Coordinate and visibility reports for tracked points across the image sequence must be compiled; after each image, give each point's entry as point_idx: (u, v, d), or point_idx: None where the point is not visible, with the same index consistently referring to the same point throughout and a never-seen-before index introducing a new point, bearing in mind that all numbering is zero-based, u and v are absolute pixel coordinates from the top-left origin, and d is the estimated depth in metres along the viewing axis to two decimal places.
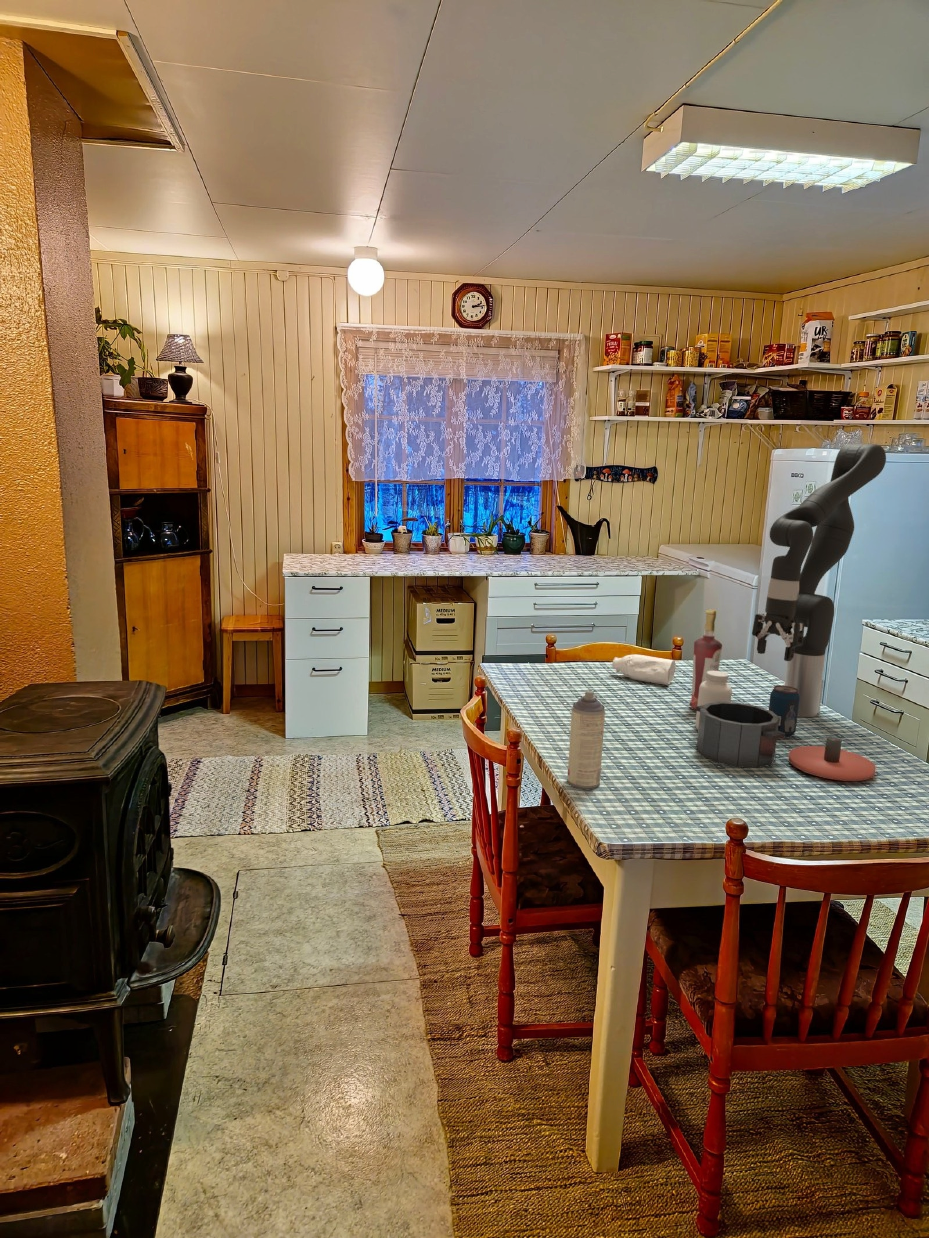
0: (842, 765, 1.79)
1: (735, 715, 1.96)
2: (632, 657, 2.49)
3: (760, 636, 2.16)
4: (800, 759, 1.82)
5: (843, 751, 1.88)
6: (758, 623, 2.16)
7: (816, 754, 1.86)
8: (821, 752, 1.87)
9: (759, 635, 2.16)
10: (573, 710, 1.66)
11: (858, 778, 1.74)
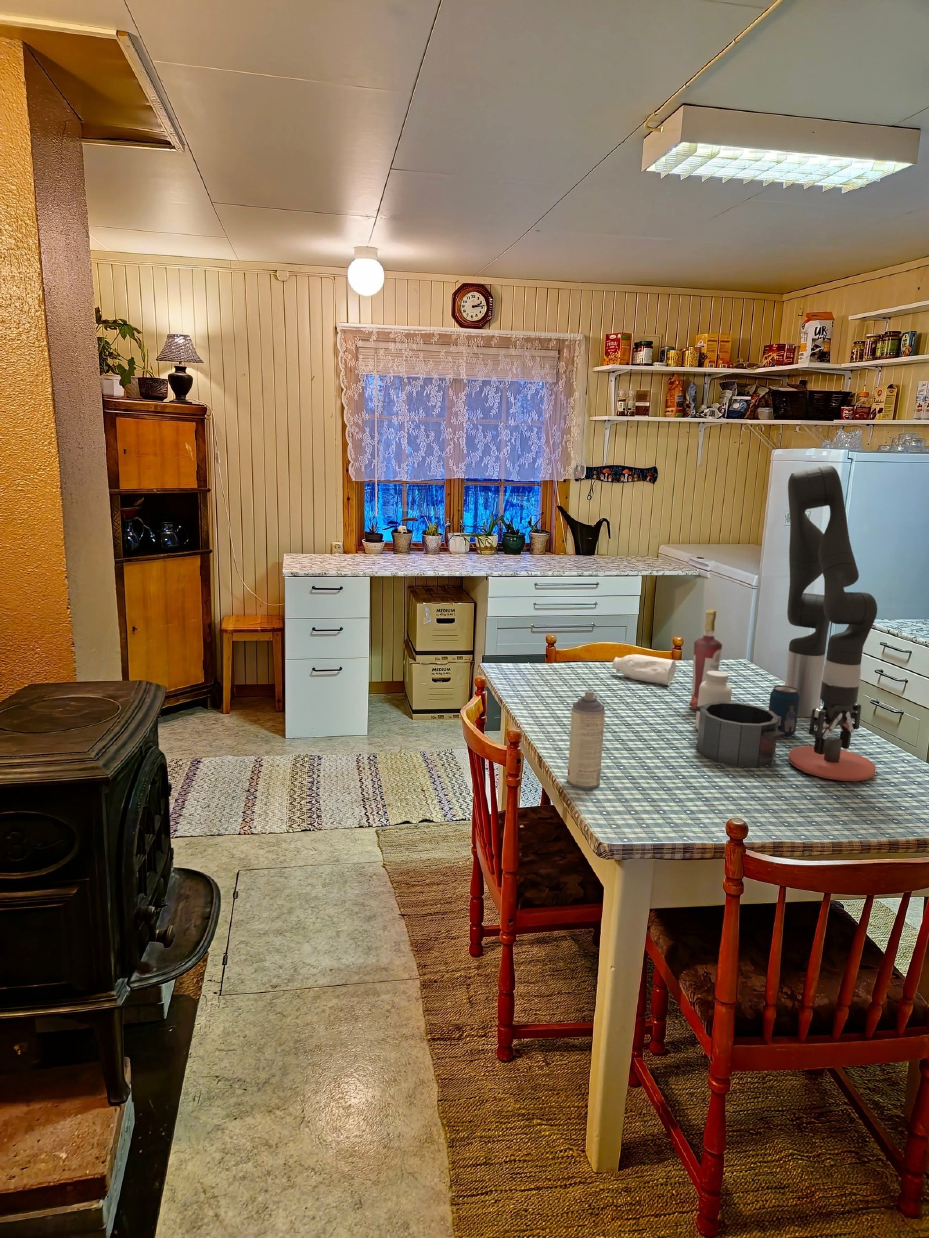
0: (842, 765, 1.79)
1: (735, 715, 1.96)
2: (632, 657, 2.49)
3: (826, 734, 1.78)
4: (800, 759, 1.82)
5: (843, 751, 1.88)
6: None
7: (816, 754, 1.86)
8: None
9: (825, 734, 1.78)
10: (573, 710, 1.66)
11: (858, 778, 1.74)
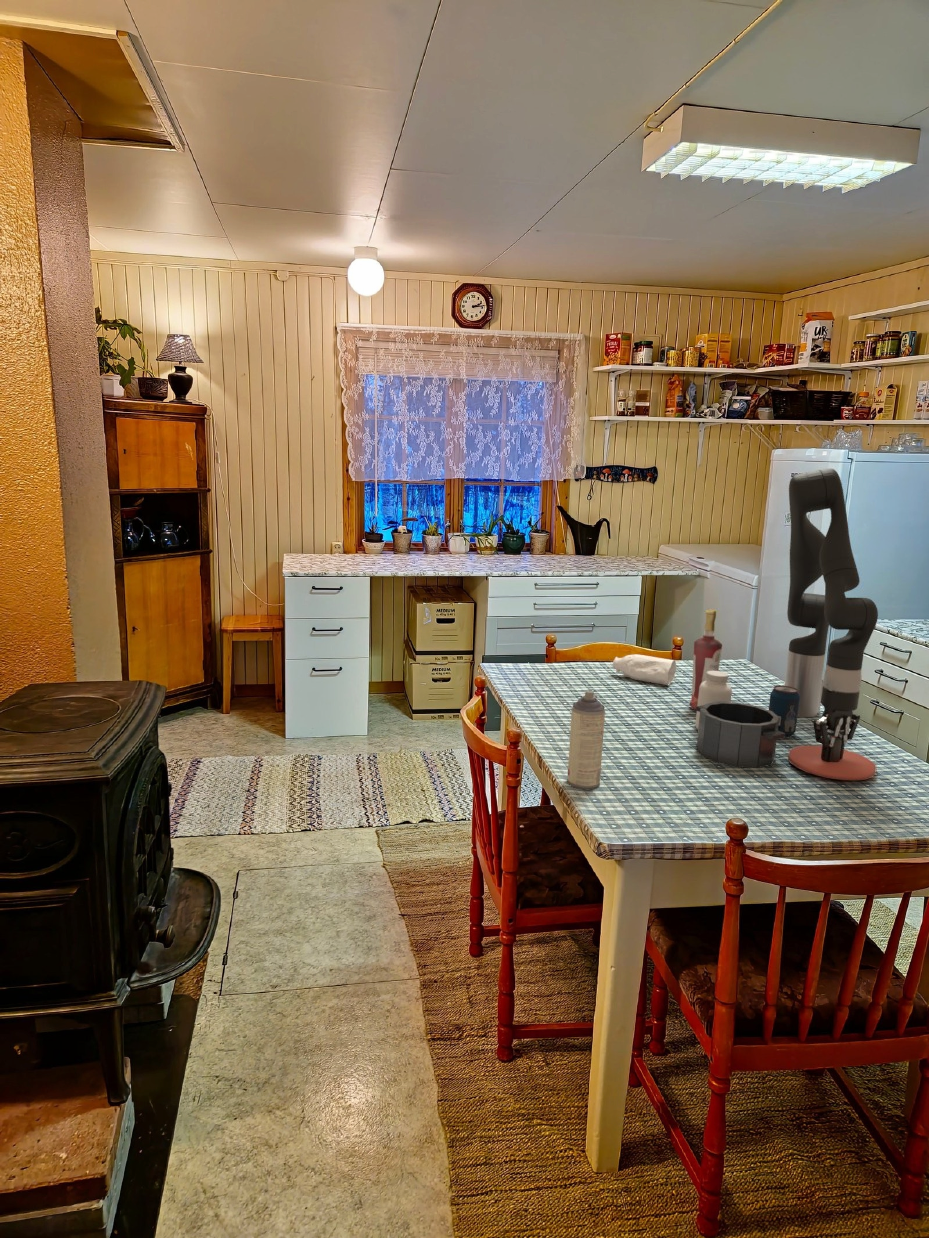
0: (842, 765, 1.79)
1: (735, 715, 1.96)
2: (632, 657, 2.49)
3: (833, 742, 1.80)
4: (800, 758, 1.82)
5: None
6: None
7: (817, 753, 1.86)
8: (821, 751, 1.87)
9: (832, 742, 1.79)
10: (573, 710, 1.66)
11: (858, 777, 1.74)
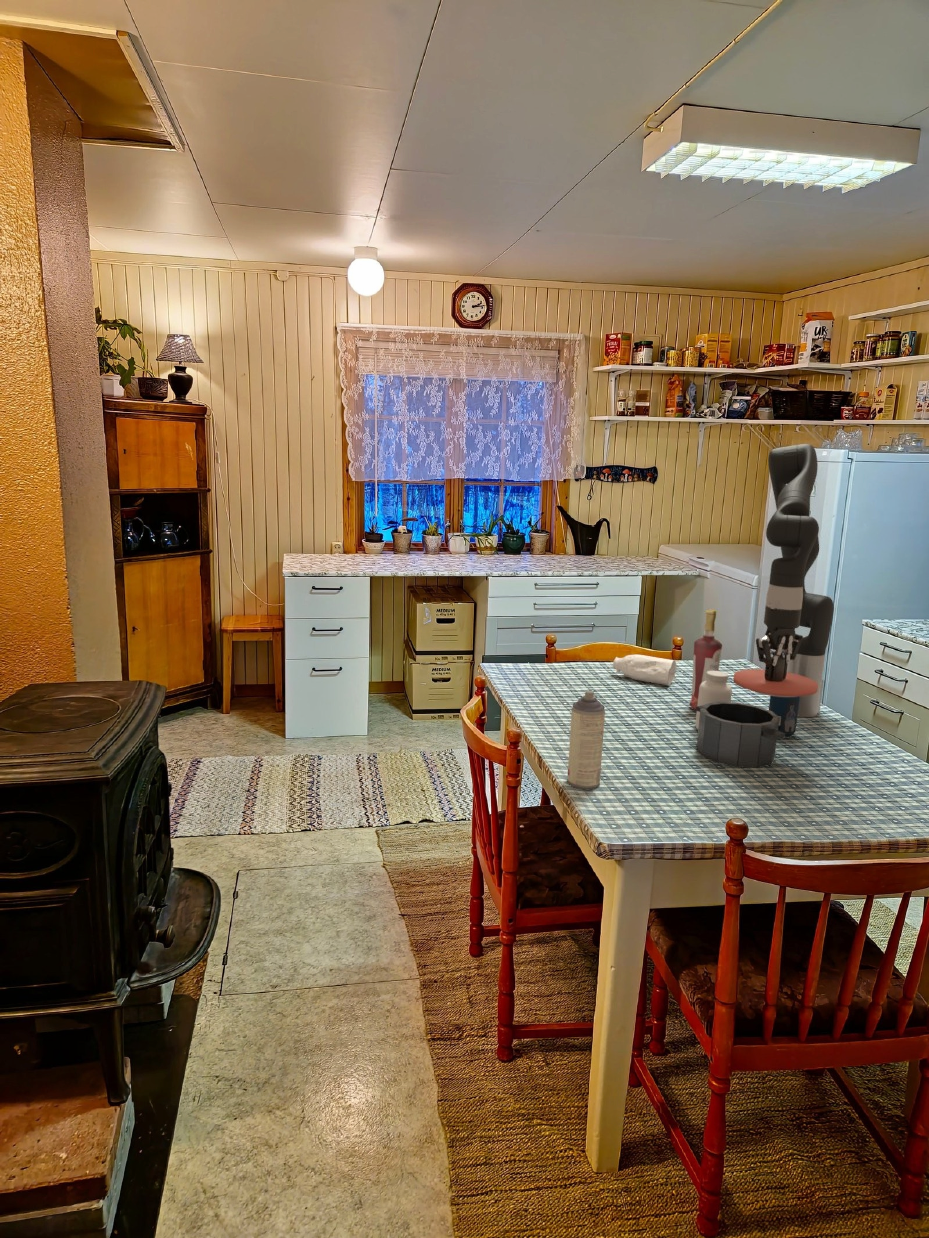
0: (785, 683, 1.80)
1: (735, 715, 1.96)
2: (633, 657, 2.49)
3: (776, 661, 1.81)
4: (744, 679, 1.83)
5: (787, 673, 1.90)
6: None
7: (761, 675, 1.87)
8: None
9: (775, 660, 1.81)
10: (573, 710, 1.66)
11: (800, 694, 1.75)
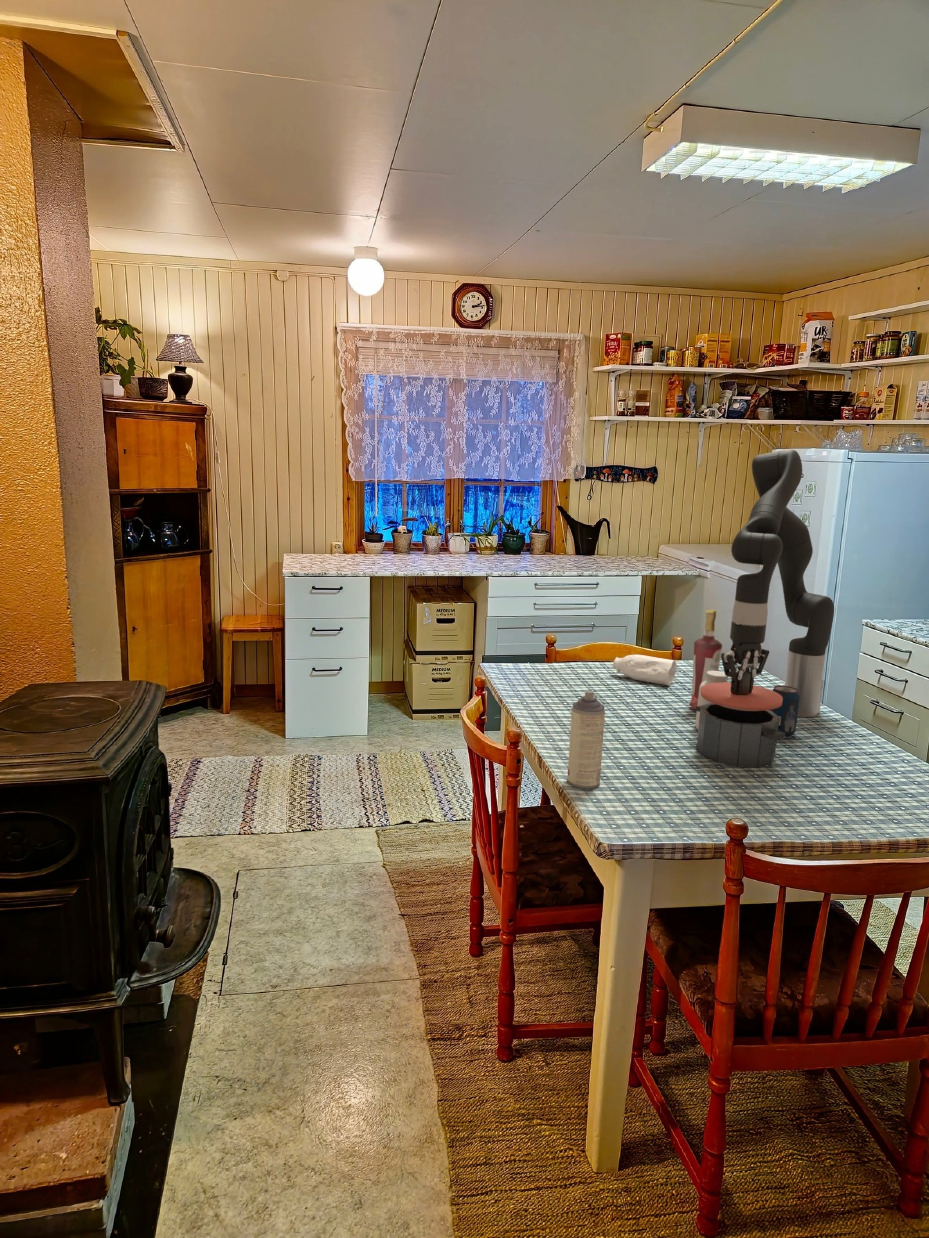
0: (750, 697, 1.84)
1: (735, 715, 1.96)
2: (633, 657, 2.49)
3: (741, 675, 1.84)
4: (710, 692, 1.87)
5: (755, 686, 1.93)
6: None
7: (728, 688, 1.91)
8: None
9: (740, 675, 1.84)
10: (573, 710, 1.66)
11: (763, 708, 1.79)
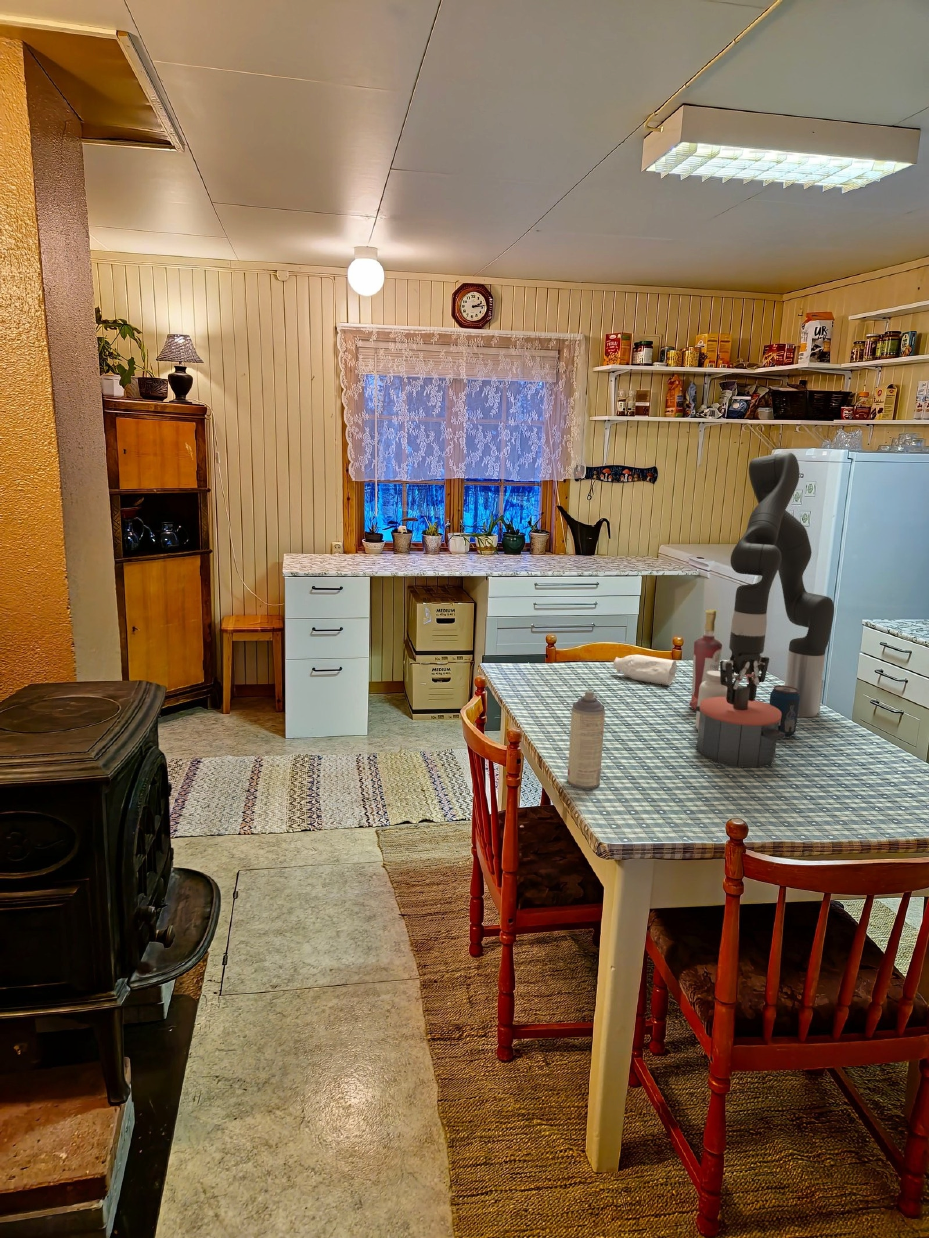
0: (749, 712, 1.85)
1: None
2: (633, 657, 2.49)
3: (737, 685, 1.84)
4: (710, 707, 1.88)
5: (754, 701, 1.94)
6: None
7: (727, 703, 1.91)
8: None
9: (736, 684, 1.84)
10: (573, 710, 1.66)
11: (762, 723, 1.80)
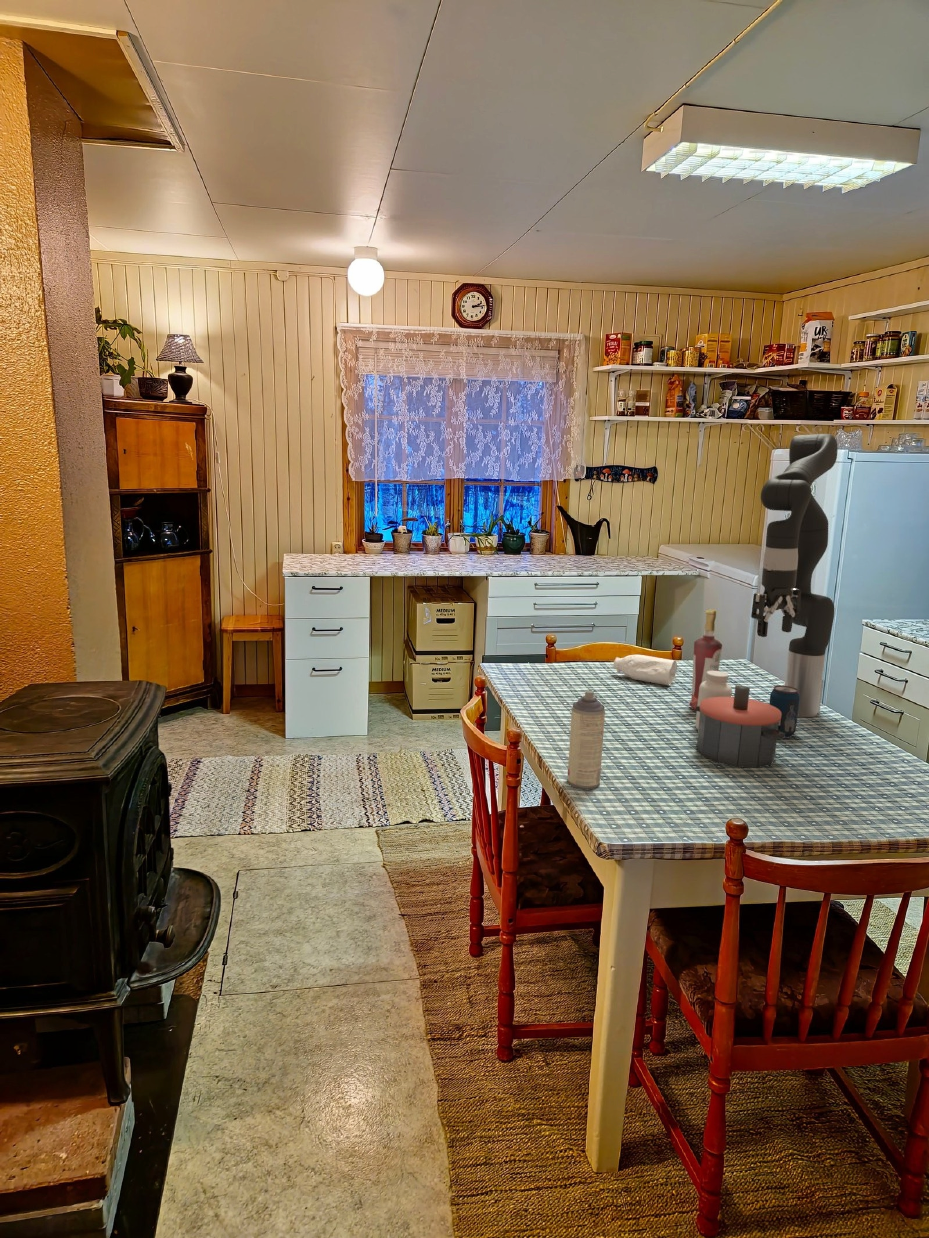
0: (749, 712, 1.85)
1: None
2: (633, 657, 2.49)
3: (767, 617, 1.87)
4: (710, 707, 1.88)
5: (754, 701, 1.94)
6: None
7: (727, 703, 1.91)
8: (732, 701, 1.93)
9: (767, 617, 1.87)
10: (573, 710, 1.66)
11: (762, 723, 1.80)
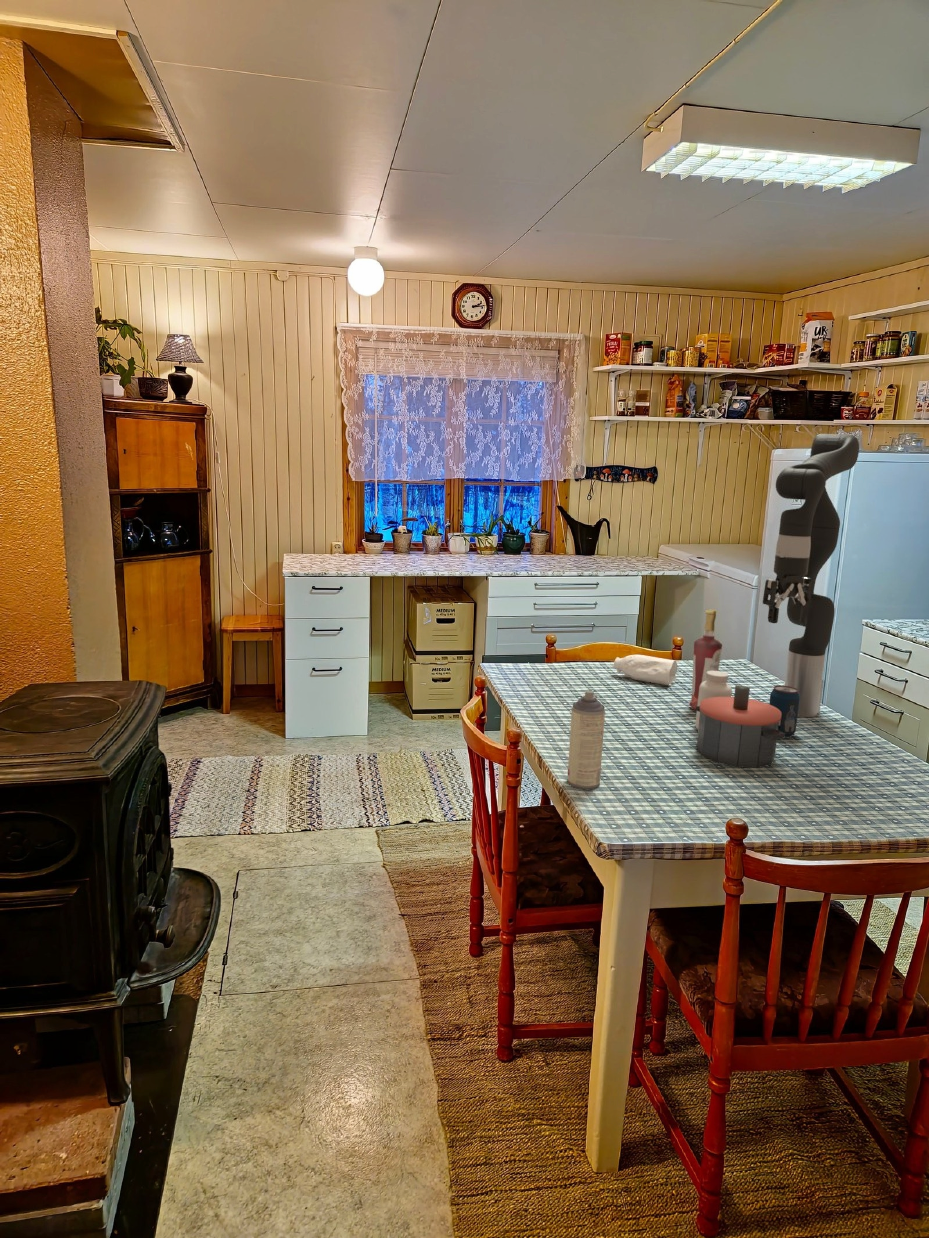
0: (749, 712, 1.85)
1: None
2: (633, 657, 2.49)
3: (778, 604, 1.90)
4: (710, 707, 1.88)
5: (754, 701, 1.94)
6: None
7: (727, 703, 1.91)
8: (732, 701, 1.93)
9: (778, 603, 1.90)
10: (573, 710, 1.66)
11: (762, 723, 1.80)
